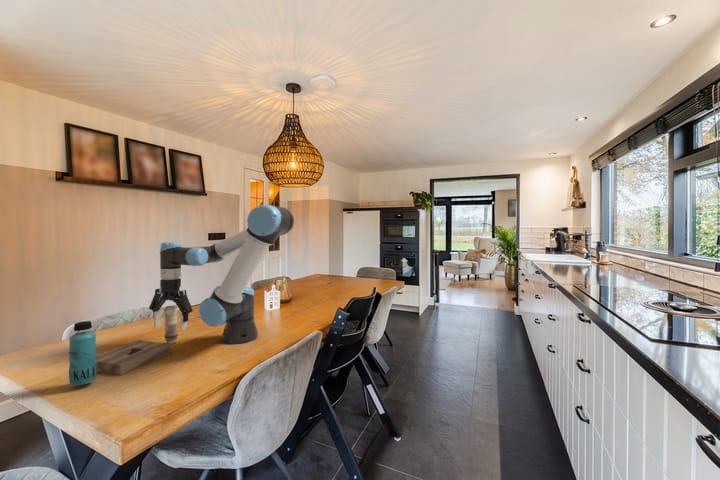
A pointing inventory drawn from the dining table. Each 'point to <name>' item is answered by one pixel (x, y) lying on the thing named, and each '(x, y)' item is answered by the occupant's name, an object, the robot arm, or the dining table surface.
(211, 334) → the dining table surface
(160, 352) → the board
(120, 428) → the dining table surface
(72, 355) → the beverage bottle
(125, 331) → the dining table surface
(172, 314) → the peg
